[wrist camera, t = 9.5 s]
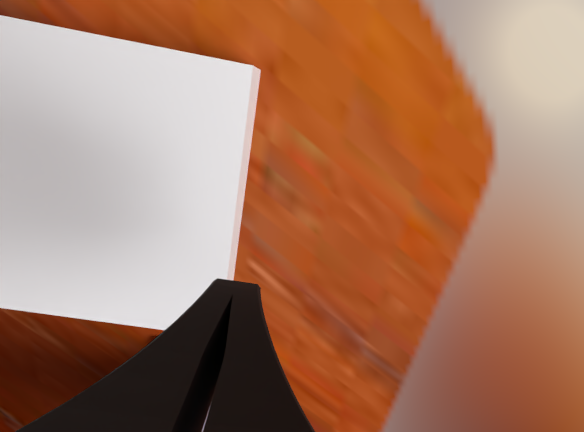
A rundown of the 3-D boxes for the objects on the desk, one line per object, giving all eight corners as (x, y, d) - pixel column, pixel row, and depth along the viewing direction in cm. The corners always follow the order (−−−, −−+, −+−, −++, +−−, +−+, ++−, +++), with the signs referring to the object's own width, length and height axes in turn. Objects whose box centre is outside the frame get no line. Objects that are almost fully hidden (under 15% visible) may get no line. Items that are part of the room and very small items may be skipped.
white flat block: (230, 298, 21) (219, 337, 18) (42, 271, 20) (-6, 307, 17) (260, 70, 16) (253, 65, 12) (8, 19, 15) (-71, 1, 12)
